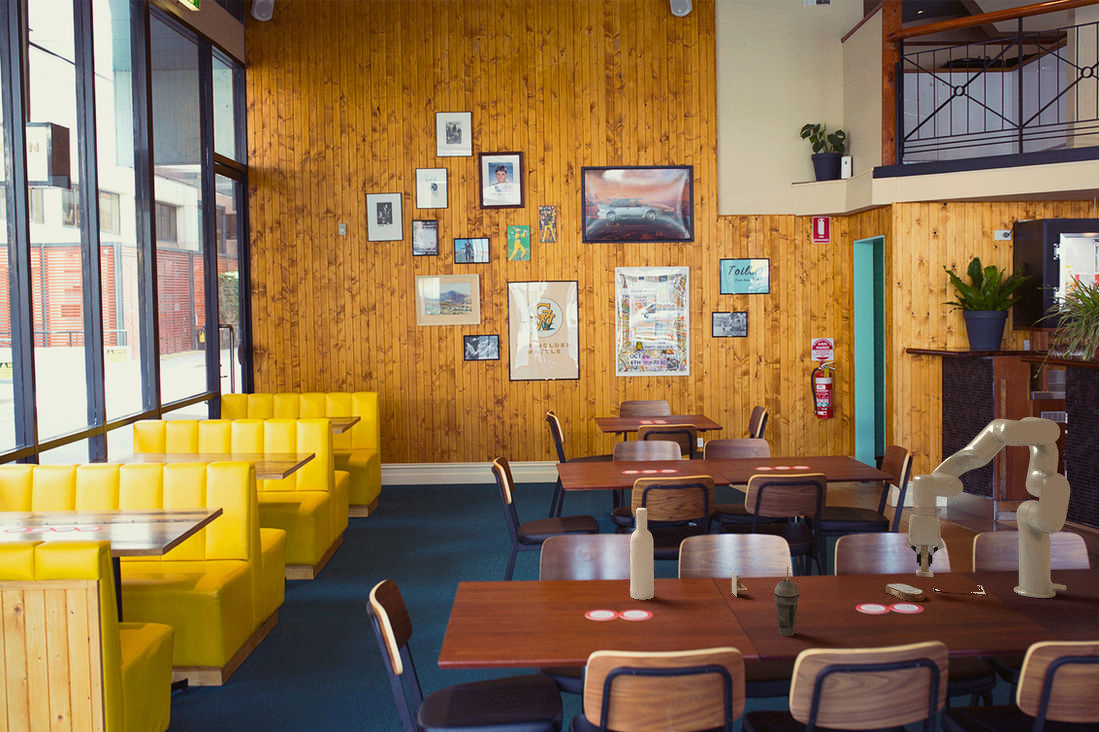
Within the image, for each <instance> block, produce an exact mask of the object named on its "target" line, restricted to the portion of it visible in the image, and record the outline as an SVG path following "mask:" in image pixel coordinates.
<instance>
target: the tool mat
mask: <svg viewBox="0 0 1099 732" xmlns="http://www.w3.org/2000/svg"><path fill="white" fill-rule="evenodd" d="M978 586H979V587H980V586H981V589H982V590H983V592H973V593H975V594H976V593H977V594H985V595H986V596H987V594H986V592H985V589H984V587H983V585H978ZM935 590H936V591H940V590H938V589H935ZM979 590H980V589H979ZM971 593H972V592H971Z"/></svg>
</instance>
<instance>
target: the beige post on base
mask: <svg viewBox="0 0 1099 732" xmlns="http://www.w3.org/2000/svg"><path fill="white" fill-rule="evenodd" d="M920 552H921V566H920V569H916V570H915V573H916V574H915V575H916V576H917V577H925V578H927V577H928V578H934V571H933V570H930V568H929V566H928V555H929V546H927V545H920Z"/></svg>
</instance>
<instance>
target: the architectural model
mask: <svg viewBox="0 0 1099 732" xmlns="http://www.w3.org/2000/svg"><path fill="white" fill-rule="evenodd" d="M740 576H741V575H739V574H738V575H736V574H734V573H731V594H732V593H733V594H734V595H735V596H736V597H737V598H738V595H737V594H740V592H741V591H747V590H748V588H747V587H746V586H745V585H743V583H742V582H741V581H740ZM733 594H732V595H733ZM734 595H733V596H734ZM735 596H734V597H735ZM736 597H735V598H736Z"/></svg>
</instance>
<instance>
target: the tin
mask: <svg viewBox="0 0 1099 732" xmlns="http://www.w3.org/2000/svg"><path fill="white" fill-rule="evenodd" d="M885 591H886V592H887V593H889V594H891V595H894V596H896V597H895V598H897V597H898V598H897V599H899V598H900V599H899V600H902V599H903V600H902V601H906V600H908V602H922V600H923V601H924V600H925V592H924V590H922V589H920V588H918V587H915V586H912V585H909V584H906V583H899V582H896V583H887V584H885ZM886 592H885V593H886ZM887 593H886V594H887ZM889 594H888V595H889ZM891 595H890V596H891ZM894 596H893V597H894Z"/></svg>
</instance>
